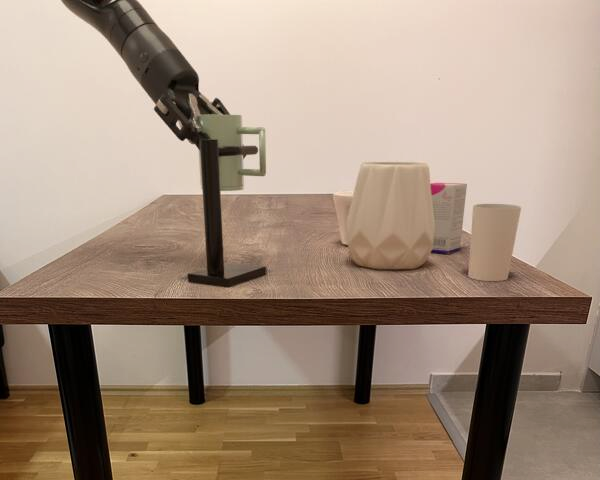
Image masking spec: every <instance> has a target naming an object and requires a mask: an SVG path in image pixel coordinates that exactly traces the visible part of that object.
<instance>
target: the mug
mask: <svg viewBox="0 0 600 480" xmlns="http://www.w3.org/2000/svg"><path fill="white" fill-rule="evenodd" d="M199 118H200V119H199V121H200V123H201V125H202V127H203V132H202V133H207V134H208V136H209V137H210V138H211V139H218V147H224V146H243V145H244V138H243V137H244V135H258V152H259V153H258V156H259V169H258V168H257V169H256V168H255V169H254V168H244V159H243V155H237V156H220V157H219V171H220V192H234V191H235V192H236V191H242V190H244V189H245V187H244V185H245V177H246V176H247V177H265V176H266V174H267V152H266V148H267V147H266V143H267V142H266V128H265V127H263V126H243V115H242V114H230V115H199ZM198 162H199V163H198V164H199V165H198V166H199V180H200V181H199V182H200V189H201V190H202V174H201V157H200V150H199V149H198Z"/></svg>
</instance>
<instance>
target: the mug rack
mask: <svg viewBox="0 0 600 480" xmlns="http://www.w3.org/2000/svg"><path fill="white" fill-rule="evenodd" d="M258 152H259V147H258V146H257V145H244V146H224V147H218V139H200V157H201V174H202V189H201V191H202V203H203V204H202V206H203V220H204V221H203V223H204V240H205V241H204V243H205V257H206V268H203V269H199V270H195V271H192V272H188V273H187V282H188V283H194V284H201V285H209V286H214V287H215V286H216V287H224V288H231V287H234V286H236V285H240V284H243V283H246V282H248V281H250V280H254V279H257V278H259V277H262V276H265V275H266V274H267V266H265V265H258V264H257V265H255V264H247V263H237V262H231V261H230V262H229V261H227V262H225V260H224V259H225V258H224V239H223V238H224V236H223V235H224V234H223V217H222V195H221V193H222V191H220V171H219V156H237V155H246V156H252V155H253V156H254V155H257V154H259V153H258Z"/></svg>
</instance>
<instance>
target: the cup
mask: <svg viewBox="0 0 600 480" xmlns="http://www.w3.org/2000/svg"><path fill="white" fill-rule="evenodd" d="M353 194H354V190H340V191H335V192H333V193H332V200H333V203H334V208H335V214H336V219H337V224H338V230H339V236H340V241H341V244H342V246H345V247H348V236H347V230H346V224H347V219H348V215H349V210H350V206H351V202H352V198H353Z"/></svg>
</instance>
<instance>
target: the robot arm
mask: <svg viewBox="0 0 600 480" xmlns="http://www.w3.org/2000/svg"><path fill="white" fill-rule="evenodd" d="M60 1H61V2H62V4H63V5H64V6H65V8H66V9H68V10H69V12H71V13H72V14H74V15H75V16H76V17H77V18H79V19H81V20H82V21H83V22H84V23H86V24H88V25H89V26H91V27H92V28H93V29H94V30H96V31H97V32H99V33H100V35H101V36H102V37H103V38H104V39H106V41H107V42H108V43H109V44H110V45H111V47H112V48H113V49H114V50H115V52H116V53H117V54H118V56H119V57H120V58H121V59H122V61H123V62H124V63H125V65H126V66H127V69H128V70H129V72H130V74H131V75H132V76H133V78H134V79H135V80H136V81H137V82H138V84H139V85H140V87H141V88H142V90H144V92H145V93H146V95H147V96H148V97H149V98H150V99H151V101H152V102H153V103H154V104H155V106H154V107H153V111H154V112H155V113H156V114H157V115H158V117H159V118H160V120H162V121H163V122H164V124H165V125H166V126H167V127H168V128H169V130H170V131H171V132H172V134H174V136H176V137H177V139H178V141H179V140H180V141H181V142H185V140H187V141H188V142H189V143H190V144H191V145H195V146H196V148H197V149H198V151H199V150H200V139H211V138H210V137H209V136H208V134H207V133H202V132H203V127H202V125H201V123H200V121H199V119H200V118H199V115H231V114H230V112H229V110H228V109H227V108H226V107H225V105H224V103H223V102H222V101H221V100H220V99H219V98H218V97H214V99H213V101H210V100H209V98H207V97H206V96H205V95H203V93H201V92H200V88H199V85H200V77H199V74H198V72H197V71H196V70H195V69H194V67H193V66H192V64H191V63H190V62H189V61H188V59H187V58H186V57H185V56H184V54H183V52H182V51H181V50H180V49H179V48H178V47H177V46H176V44H175V43H174V42H173V40H172V39H171V38H170V36H168V35H167V34H166V32H164V31H163V30H162V29H161V28H160V27H159V25H158V24H157V23H156V21H155V20H154V19H153V18H152V17H151V15H150V14H149V12H148V11H147V9H145V7H144V6H143V5H142V4H141V3H140V2H139V1H138V0H60ZM177 123H178V125H179V127H178V125H177ZM243 146H245V145H244V144H243ZM219 157H220V156H219ZM246 157H247V155H243V160H245V158H246Z"/></svg>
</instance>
